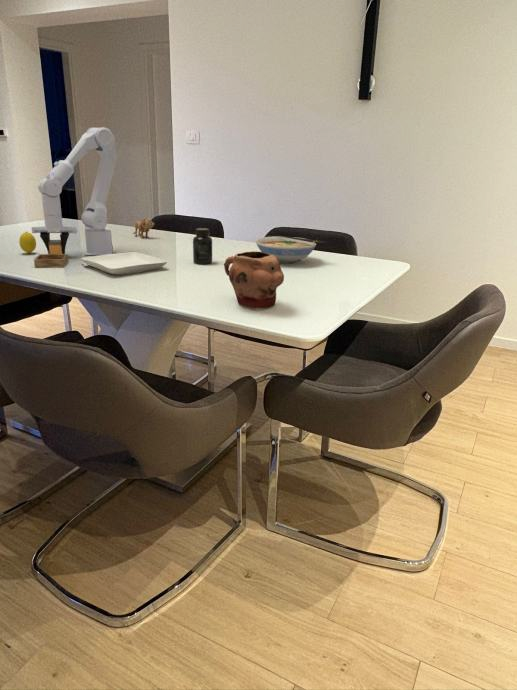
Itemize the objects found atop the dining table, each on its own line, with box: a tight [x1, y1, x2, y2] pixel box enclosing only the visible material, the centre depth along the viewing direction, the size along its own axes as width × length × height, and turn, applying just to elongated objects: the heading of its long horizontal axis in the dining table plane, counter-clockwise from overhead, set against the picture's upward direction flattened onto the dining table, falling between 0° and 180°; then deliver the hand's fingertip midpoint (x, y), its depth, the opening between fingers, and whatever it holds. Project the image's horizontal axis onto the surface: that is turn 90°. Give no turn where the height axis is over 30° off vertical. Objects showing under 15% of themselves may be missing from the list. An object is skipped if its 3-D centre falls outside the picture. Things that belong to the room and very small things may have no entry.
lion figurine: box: [132, 217, 155, 240], centre depth 227 cm, size 15×5×9 cm, turn 45°
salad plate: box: [80, 251, 168, 276], centre depth 172 cm, size 21×21×3 cm
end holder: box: [33, 253, 69, 268], centre depth 173 cm, size 9×9×2 cm
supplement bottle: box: [192, 227, 213, 265], centre depth 182 cm, size 7×7×12 cm
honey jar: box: [49, 239, 62, 254], centre depth 182 cm, size 4×4×6 cm
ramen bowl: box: [254, 234, 327, 264], centre depth 191 cm, size 25×23×8 cm
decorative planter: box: [223, 250, 285, 310], centre depth 136 cm, size 20×12×14 cm, turn 55°
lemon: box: [18, 231, 37, 255], centre depth 186 cm, size 6×6×8 cm
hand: (56, 253), depth 183 cm, fingers closed on honey jar, 4 cm apart
